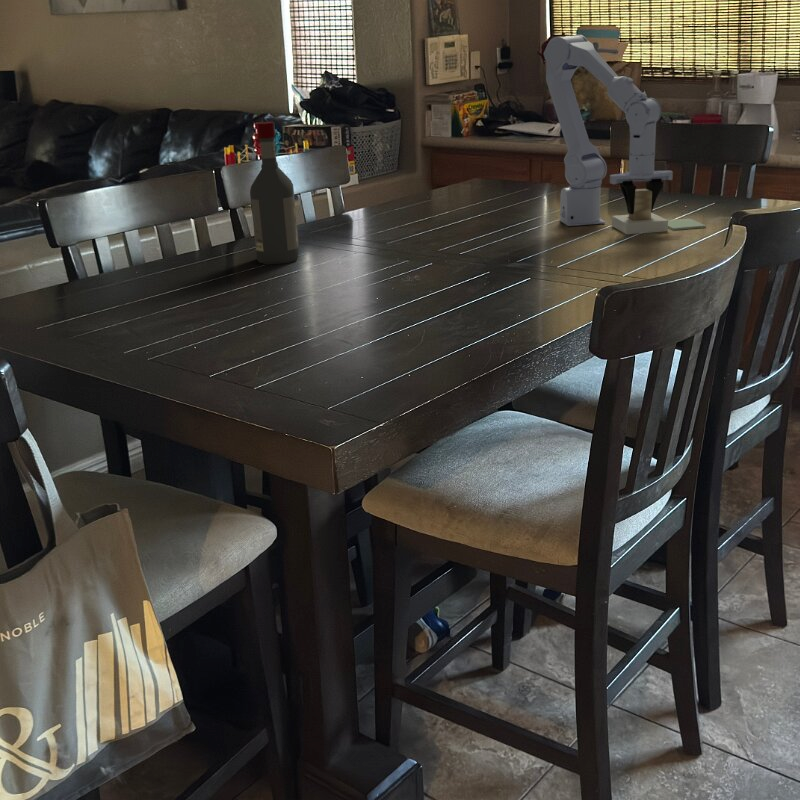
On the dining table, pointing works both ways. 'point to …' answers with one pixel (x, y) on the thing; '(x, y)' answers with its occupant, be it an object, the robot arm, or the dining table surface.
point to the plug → (642, 205)
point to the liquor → (273, 206)
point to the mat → (684, 224)
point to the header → (639, 224)
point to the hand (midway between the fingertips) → (639, 212)
